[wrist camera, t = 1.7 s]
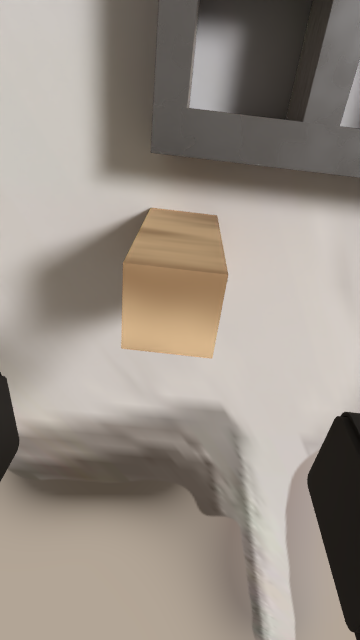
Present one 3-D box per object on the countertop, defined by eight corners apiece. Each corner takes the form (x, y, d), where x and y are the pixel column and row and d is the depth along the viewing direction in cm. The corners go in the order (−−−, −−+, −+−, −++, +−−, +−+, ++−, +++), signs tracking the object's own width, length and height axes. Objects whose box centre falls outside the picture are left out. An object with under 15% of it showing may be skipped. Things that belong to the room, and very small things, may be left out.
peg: (207, 276, 26) (212, 358, 17) (147, 269, 26) (121, 348, 17) (217, 215, 23) (228, 274, 15) (150, 207, 23) (122, 262, 15)
